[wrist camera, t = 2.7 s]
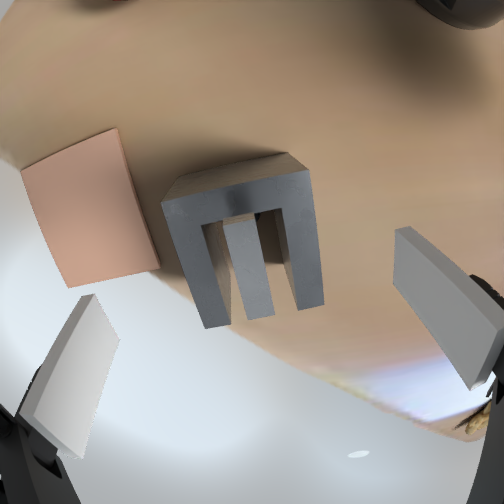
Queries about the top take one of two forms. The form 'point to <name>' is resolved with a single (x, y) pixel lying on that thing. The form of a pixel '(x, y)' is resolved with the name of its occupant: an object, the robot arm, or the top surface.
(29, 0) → the top surface
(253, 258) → the post stand
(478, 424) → the ginger root
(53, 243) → the tile
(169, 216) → the c link
